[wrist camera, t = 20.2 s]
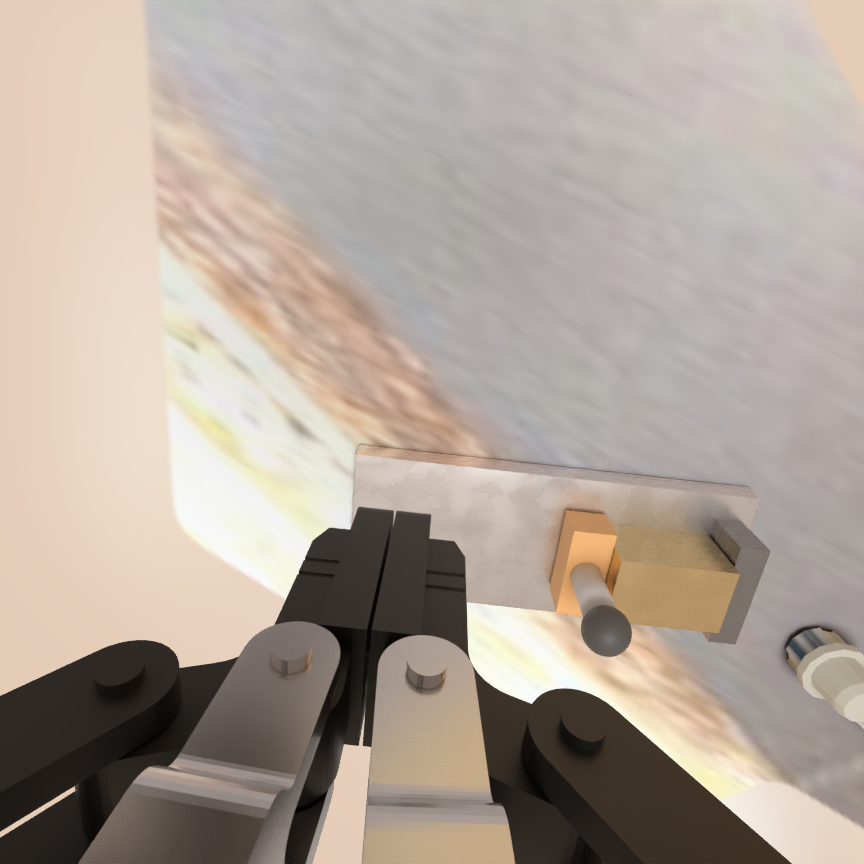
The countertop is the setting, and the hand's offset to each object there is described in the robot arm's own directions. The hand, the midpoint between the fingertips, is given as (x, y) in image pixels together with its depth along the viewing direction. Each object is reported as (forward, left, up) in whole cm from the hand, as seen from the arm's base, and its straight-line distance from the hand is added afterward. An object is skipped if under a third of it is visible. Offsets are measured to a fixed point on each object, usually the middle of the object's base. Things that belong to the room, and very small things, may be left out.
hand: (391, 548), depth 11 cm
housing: (+18, -16, -27) cm, 36 cm away
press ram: (+13, -16, -27) cm, 34 cm away
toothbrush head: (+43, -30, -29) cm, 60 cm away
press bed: (+10, -16, -29) cm, 35 cm away
